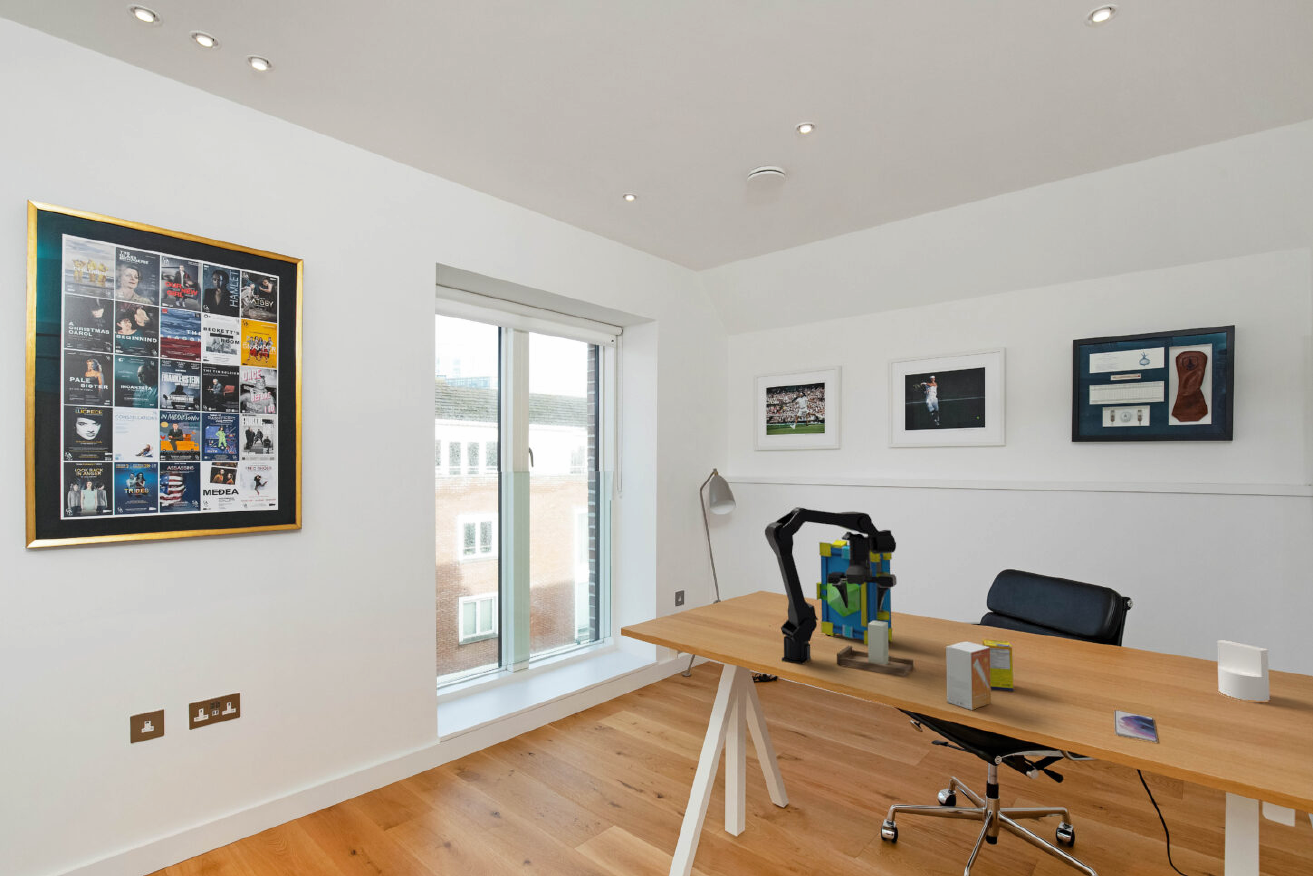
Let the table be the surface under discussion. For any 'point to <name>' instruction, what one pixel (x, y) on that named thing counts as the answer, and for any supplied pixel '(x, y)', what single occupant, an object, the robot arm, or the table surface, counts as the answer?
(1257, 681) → the base with upright slab
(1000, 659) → the supplement box
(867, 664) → the wooden tray
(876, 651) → the pale green recessed block
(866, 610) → the blue toy crate
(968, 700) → the small box
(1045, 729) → the table surface
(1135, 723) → the smartphone
